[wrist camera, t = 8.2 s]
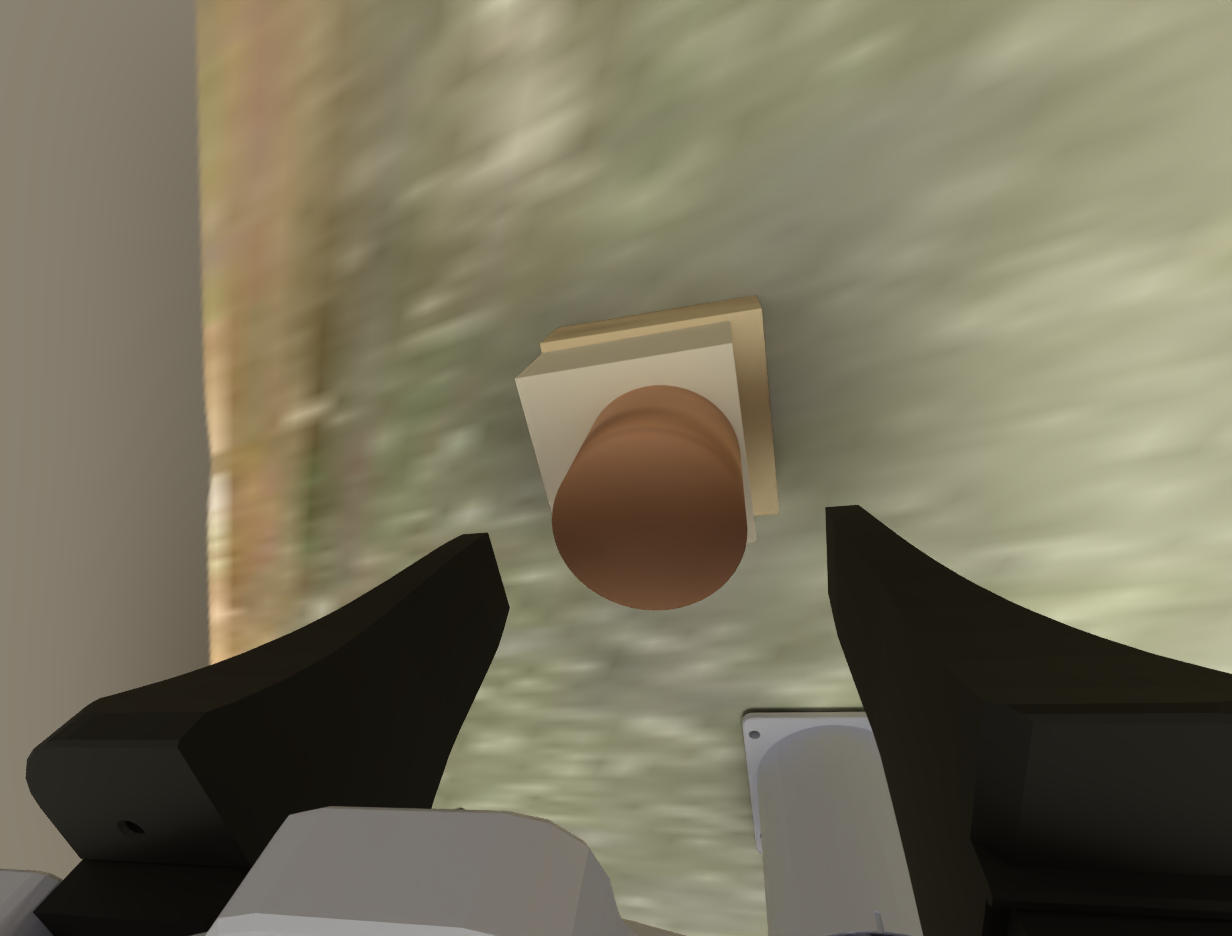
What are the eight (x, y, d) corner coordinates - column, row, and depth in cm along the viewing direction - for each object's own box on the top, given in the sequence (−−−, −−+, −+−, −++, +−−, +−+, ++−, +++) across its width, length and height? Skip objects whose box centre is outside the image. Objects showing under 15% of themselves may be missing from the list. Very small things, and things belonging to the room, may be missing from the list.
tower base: (771, 476, 23) (779, 513, 20) (597, 493, 25) (583, 530, 22) (755, 293, 20) (761, 308, 18) (561, 325, 22) (539, 343, 19)
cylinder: (742, 525, 17) (749, 611, 14) (596, 528, 18) (566, 609, 15) (738, 379, 16) (744, 434, 12) (576, 390, 16) (537, 443, 13)
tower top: (751, 495, 20) (756, 541, 18) (583, 513, 22) (564, 559, 19) (729, 320, 18) (731, 343, 15) (542, 352, 19) (514, 378, 17)
